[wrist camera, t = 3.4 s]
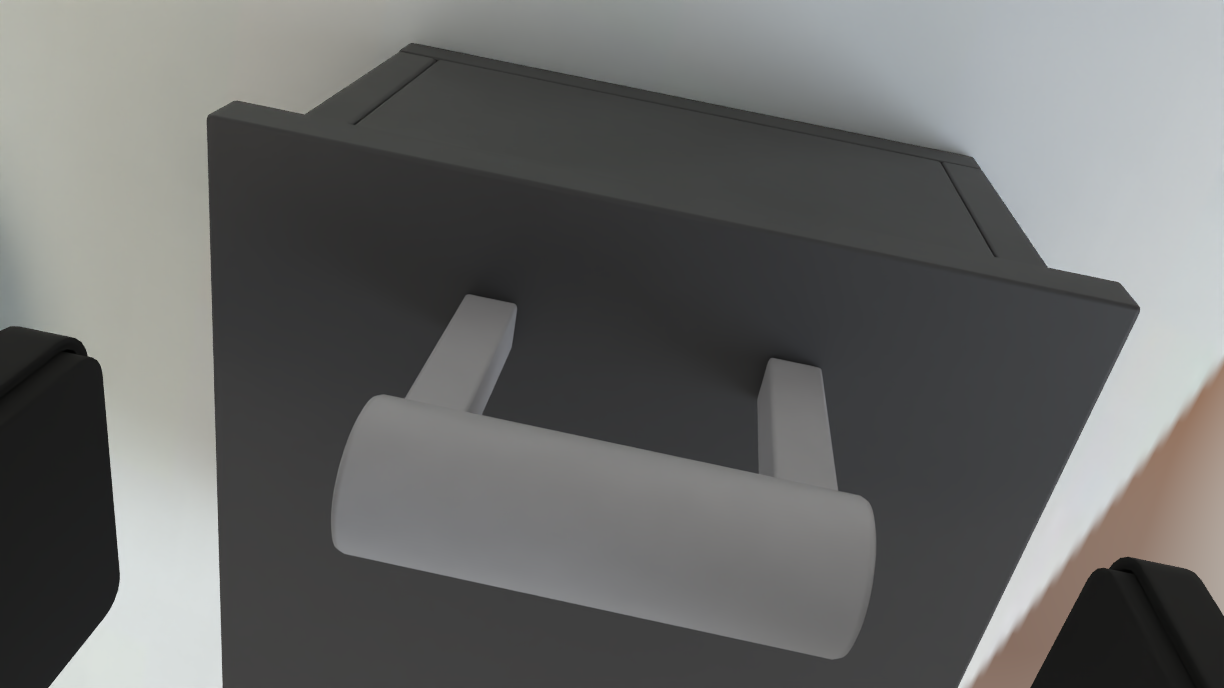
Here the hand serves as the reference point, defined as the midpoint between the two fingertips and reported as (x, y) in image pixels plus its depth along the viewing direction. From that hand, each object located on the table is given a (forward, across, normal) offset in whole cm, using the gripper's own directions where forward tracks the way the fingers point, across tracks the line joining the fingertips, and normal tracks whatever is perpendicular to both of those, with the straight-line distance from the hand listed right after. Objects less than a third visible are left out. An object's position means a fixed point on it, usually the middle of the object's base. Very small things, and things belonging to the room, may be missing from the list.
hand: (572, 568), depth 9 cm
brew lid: (+5, 0, +5) cm, 7 cm away
